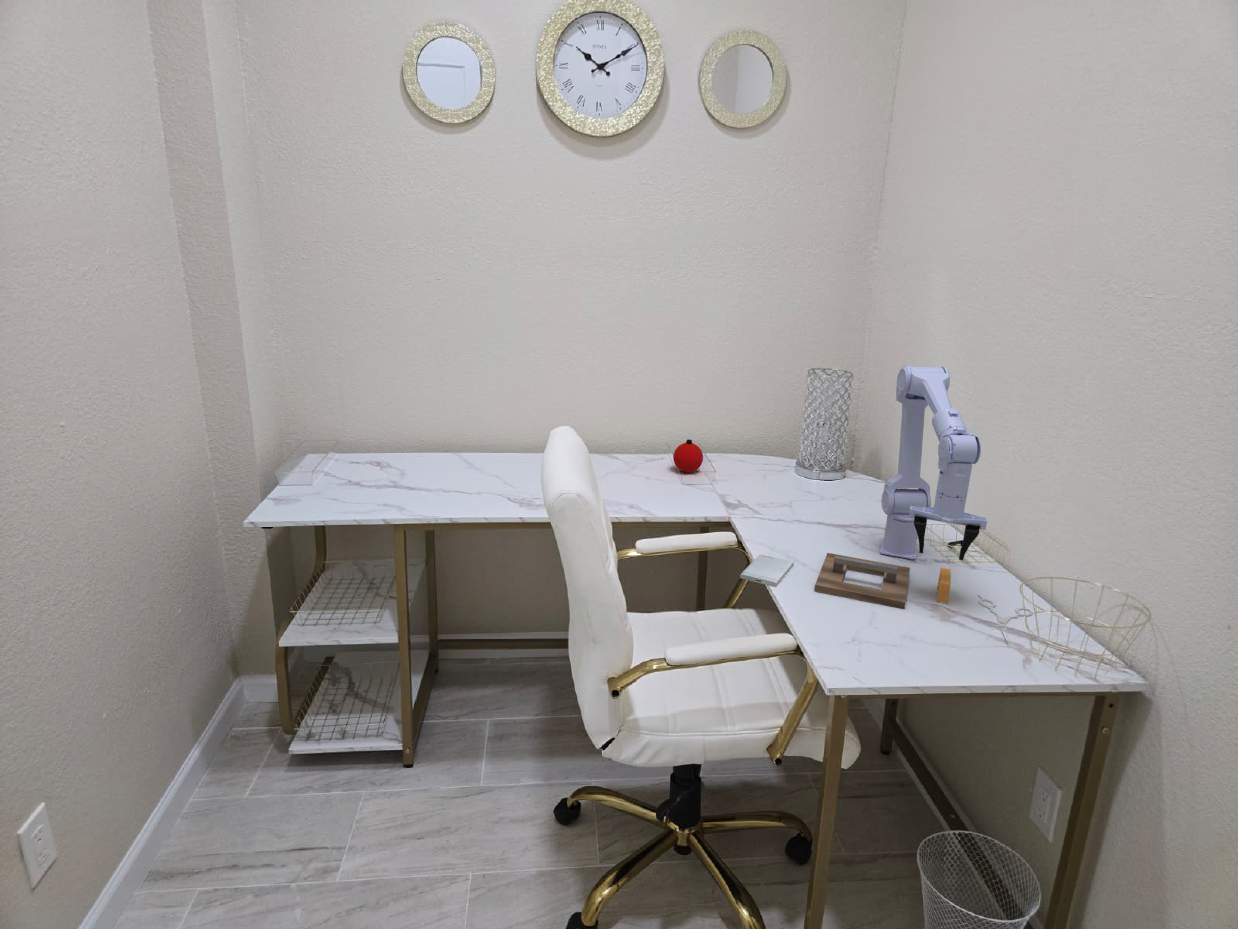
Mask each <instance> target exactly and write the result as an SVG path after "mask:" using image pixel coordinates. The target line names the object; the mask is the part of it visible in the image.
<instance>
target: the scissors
mask: <svg viewBox="0 0 1238 929" xmlns="http://www.w3.org/2000/svg"><path fill="white" fill-rule="evenodd" d="M977 597H978V598H980V599H979V600H978V604H979V605H980V606H982V607H984V608H986V609H987V610H990V613H991V614H993V615H995V616H996V617H995V618H996V621H997V620H998V621H997V623H1000V625H998V626H1005V627H1006V628H1003V629H1002V630H1007V624H1008V623H1009V622H1010V621H1011V620H1012V619H1013V620H1014V619H1018V618H1019V617H1024V616H1025V614H1024V613H1021V612H1020V611H1027V612H1029V613H1028V614H1026V616H1027V617H1032V616H1033V615H1034V612H1033V610H1031V609H1029V608H1026V607H1018V608H1016V609H1014V612H1015V615H1012V616H1005V617H1002V616H1001V615H1000V614H999V613H998V612H996V611H995V610H994V608H996V607H997V604H996V602H994V601H992V600H989V599H986V598H985V597H983V596H982V594H977ZM984 602H986V603H990V604H991V605H986V604H984ZM1027 617H1026V618H1027ZM1006 623H1007V624H1006ZM991 630H994V629H993V628H992V629H991ZM1006 633H1007V634H1008V630H1007V632H1006ZM1006 637H1008V635H1007V636H1006Z"/></svg>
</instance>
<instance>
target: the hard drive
mask: <svg viewBox="0 0 1238 929" xmlns="http://www.w3.org/2000/svg"><path fill="white" fill-rule="evenodd" d="M794 565H795V562H794V561H792V560H788V559H784V558H780V557H776V556H775V557H774V556H770V555H766V554H758V556H757V557H755V559H754V560H752V562H751V563H750V564H749V565H748V566H747V567H746V568H745V569H744V570H743V571H742V572H741V574H740V575H739V578H740V579H742V580H745V581H746V580H747V581H750V582H755V583H757V584H762V585H765V586H770V587H774V588H777V587H778V586H779V585H780V584H781V583H782V581H783V580H784V579H783V578H785V577H786V576H787V575H788V574H789V573H790V571H791V570H792V569H793V568H792V567H795V566H794ZM791 568H792V569H791ZM790 569H791V570H790ZM787 573H788V574H787ZM785 575H786V576H785ZM782 579H783V580H782ZM764 582H765V583H764Z"/></svg>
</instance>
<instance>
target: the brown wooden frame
mask: <svg viewBox="0 0 1238 929" xmlns="http://www.w3.org/2000/svg"><path fill="white" fill-rule="evenodd" d="M835 556H839V557H845V558H850V559H856V560H862V561H867V562H873V563H878V564H884V565H889V566H895V567H898V569H897V576H896V582H895V584H894V583H888V582H885V581H886V574H887V573H886V572H881V571H875V570H870V569H864V568H859V567H853V566H848V565H844V567H843V572H842V574H841V573H835V572H833V564H834V558H835ZM847 569H848V570H847ZM851 570H852V572H858V573H862V572H863V573H864V574H869V575H875V576H879V577H883V579H882V585H881V588H876V587H872V586H866V585H860V584H855V583H850V582H844V580H845V576H846V573H847V571H851ZM910 571H911V567H910V566H903V565H896V564H893V563H886V562H880V561H875V560H871V559H866V558H865V559H864V558H859V557H853V556H849V555H848V556H847V555H842V554H836V553H832V552H831V553H830V552H827V553H826V556H825V558H824V561H823V564H822V566H821V568H820V571H819V573H818V575H817V579H816V582H815V584H814V592H817V593H821V592H822V593H821V594H827V595H830V596H831V595H832V596H836V597H842V598H847V599H852V600H857V601H862V602H868V603H872V604H877V605H883V606H887V607H892V608H898V609H903V610H905V607H906V600H907V592H908V585H909V578H910Z"/></svg>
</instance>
